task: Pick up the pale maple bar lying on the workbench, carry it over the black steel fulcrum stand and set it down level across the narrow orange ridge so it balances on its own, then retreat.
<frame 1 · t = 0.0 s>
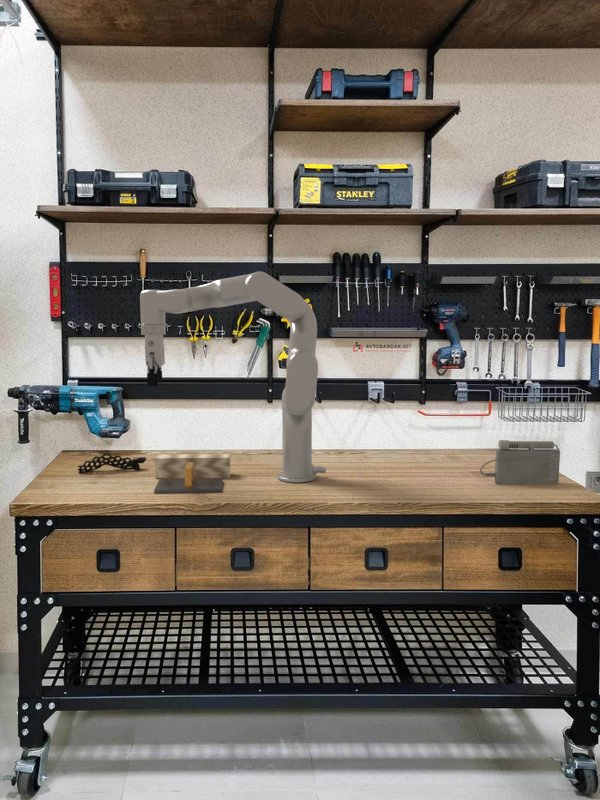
hand: (155, 384, 214), 31 cm above the workbench, fingers open, 9 cm apart
maple bar: (193, 476, 224), on the workbench
fulcrum stand: (189, 487, 210), on the workbench
decorative element: (112, 472, 231), on the workbench
geiger counter: (518, 484, 216), on the workbench
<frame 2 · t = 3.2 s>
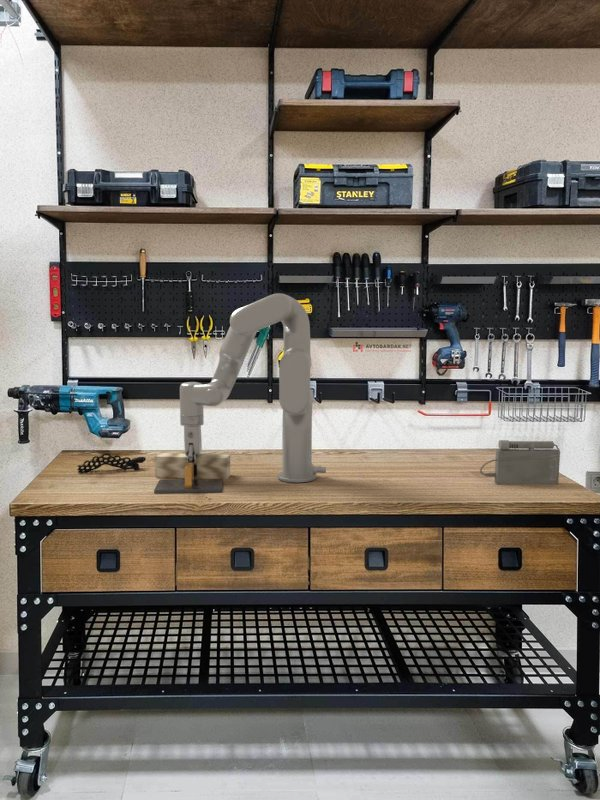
hand: (192, 473, 224), 1 cm above the workbench, fingers closed on maple bar, 6 cm apart
maple bar: (193, 476, 224), on the workbench, touching gripper
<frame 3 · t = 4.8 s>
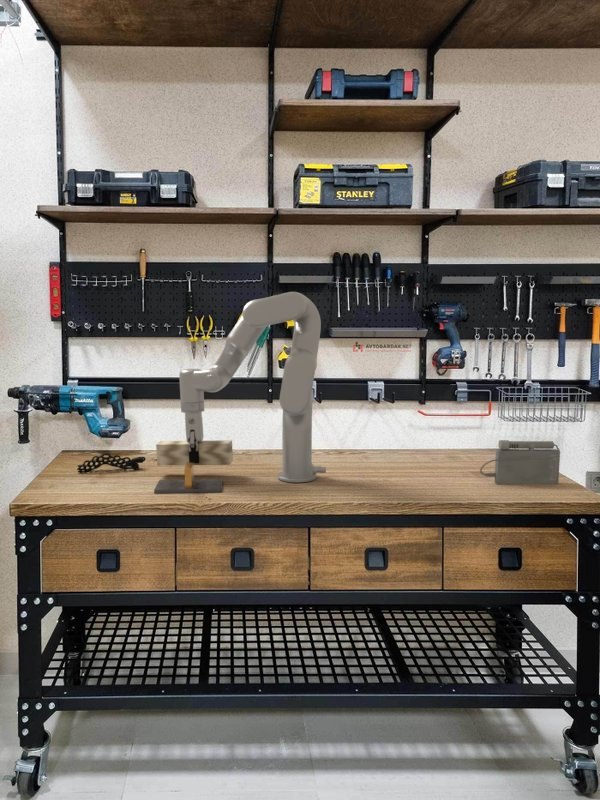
hand: (195, 460, 223), 5 cm above the workbench, fingers closed on maple bar, 6 cm apart
maple bar: (195, 463, 224), point 4 cm above the workbench, touching gripper
everything else where it was.
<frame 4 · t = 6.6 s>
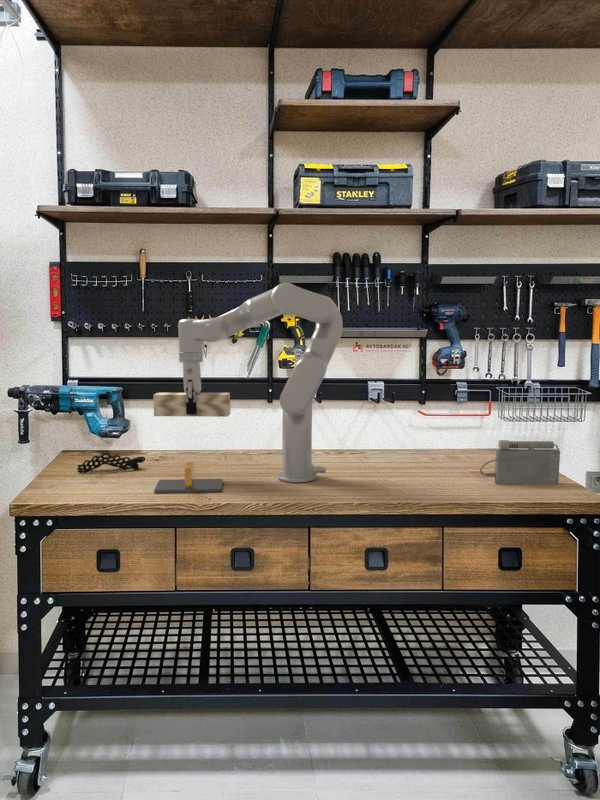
hand: (192, 412, 221), 21 cm above the workbench, fingers closed on maple bar, 6 cm apart
maple bar: (192, 415, 221), point 20 cm above the workbench, touching gripper
everything else where it was.
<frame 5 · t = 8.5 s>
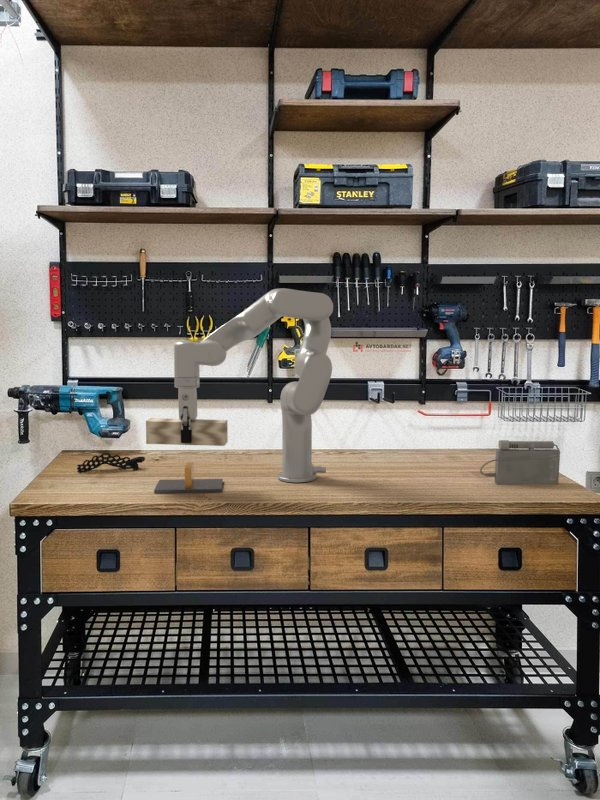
hand: (187, 440, 208), 15 cm above the workbench, fingers closed on maple bar, 5 cm apart
maple bar: (187, 443, 208), point 14 cm above the workbench, touching gripper
when the fingers open (8 cm above the workbench, at t = 10.1 s): maple bar stays where it is, resting on fulcrum stand.
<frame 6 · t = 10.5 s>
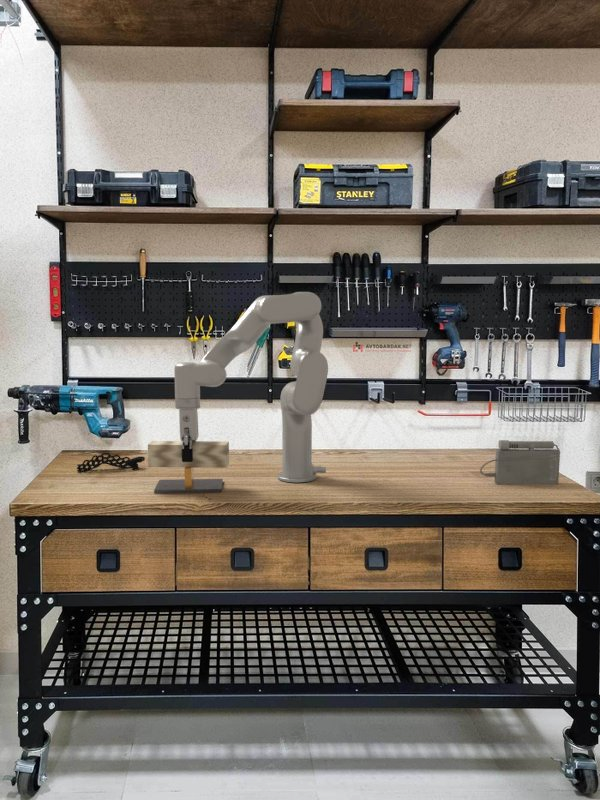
hand: (188, 458, 209), 9 cm above the workbench, fingers open, 9 cm apart
maple bar: (189, 465, 209), point 7 cm above the workbench, touching fulcrum stand
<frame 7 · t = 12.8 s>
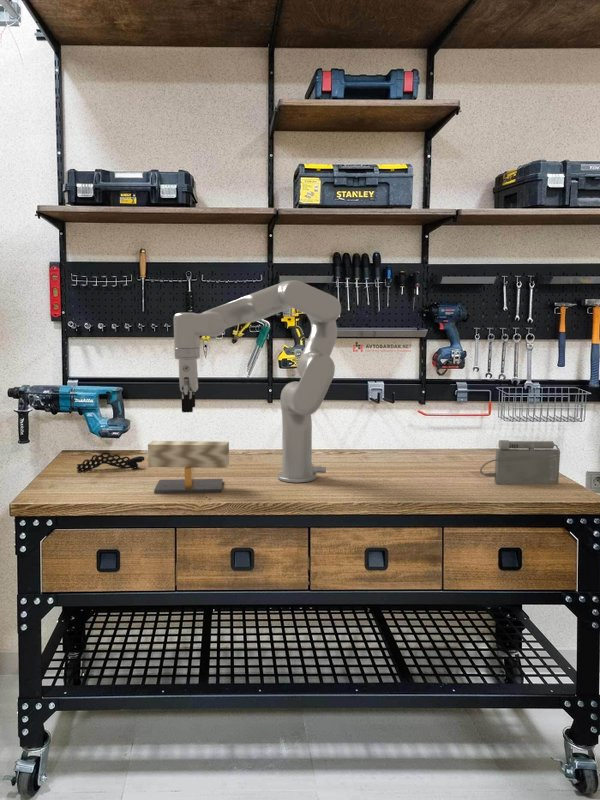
hand: (188, 409, 207), 24 cm above the workbench, fingers open, 9 cm apart
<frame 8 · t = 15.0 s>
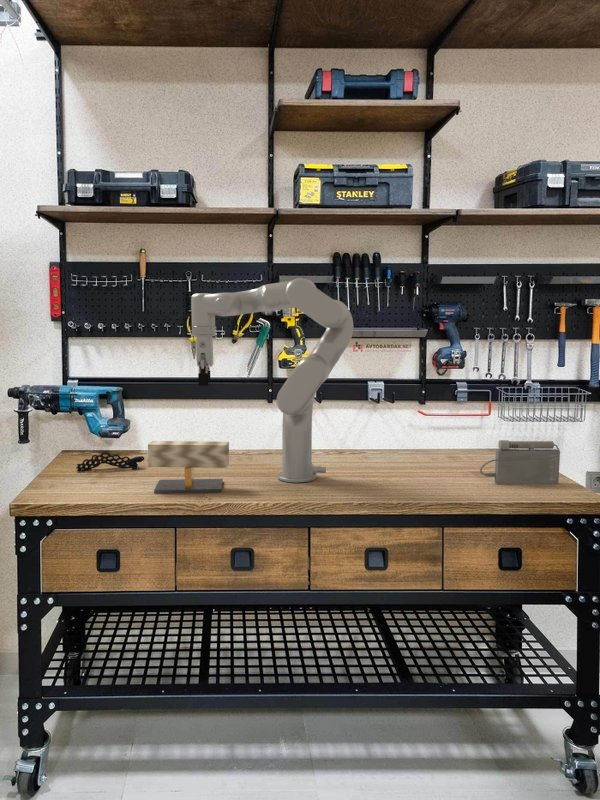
hand: (204, 383, 223), 30 cm above the workbench, fingers open, 9 cm apart
at the end: maple bar 0.0 cm off-centre on the fulcrum stand, point 7.0 cm above the fulcrum stand's base; maple bar tilted 0°; the gripper is holding nothing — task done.
